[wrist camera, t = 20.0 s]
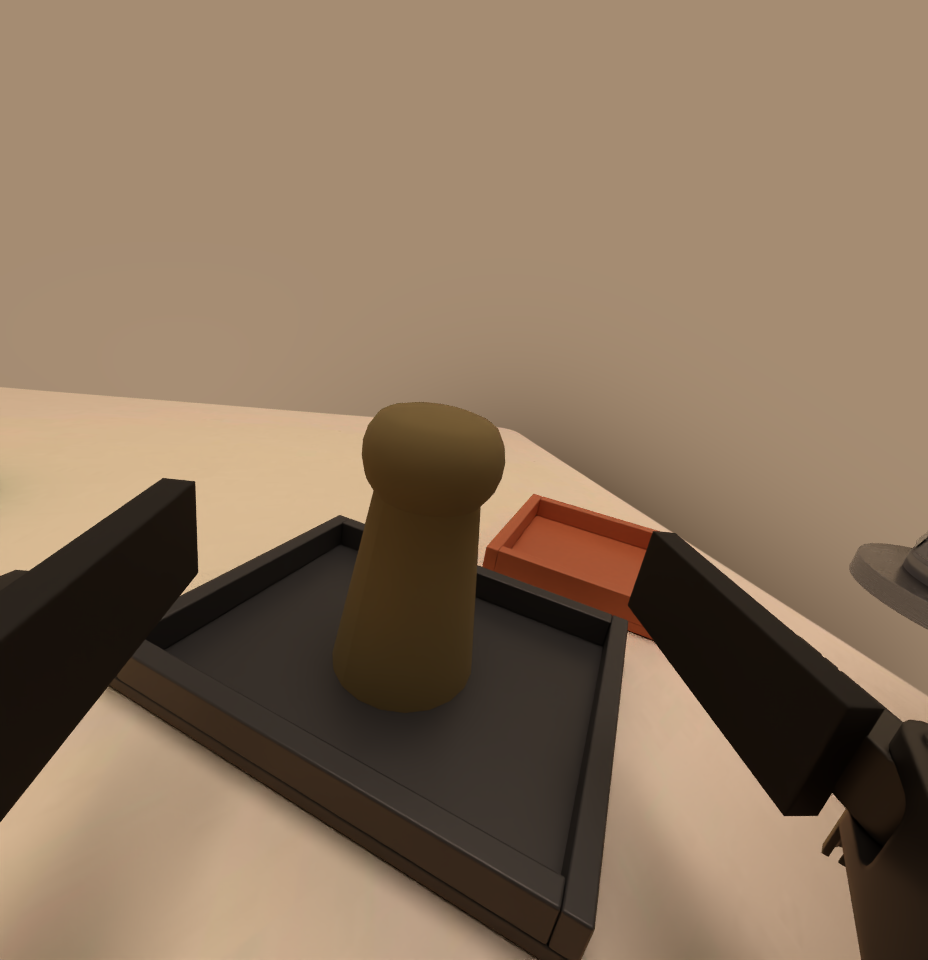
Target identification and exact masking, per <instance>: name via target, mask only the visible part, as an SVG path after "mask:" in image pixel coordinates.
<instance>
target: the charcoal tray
mask: <svg viewBox="0 0 928 960" xmlns="http://www.w3.org/2000/svg"><path fill="white" fill-rule="evenodd" d="M364 527H365V524H363V523H361V522H358V521H355V520H352V519H349V518H347V517H344V516H341V515H339V516H337V517H335V518H333V519H331V520H329V521H327V522H325V523H323V524H321V525H319V526H317V527H315V528H313V529H311V530H309V531H307V532H305V533H303V534H301V535H299V536H297V537H295V538H293V539H291V540H289V541H288V542H286V543H284V544H282V545H280V546H278V547H276V548H274V549H272V550H270V551H268V552H266V553H264V554H262V555H260V556H258V557H256V558H254V559H252V560H250V561H248V562H246V563H244V564H242V565H240V566H238V567H236V568H234V569H232V570H230V571H228V572H226V573H224V574H222V575H221V576H219V577H217V578H215V579H213V580H211V581H209V582H207V583H205V584H203V585H201V586H199V587H197V588H195V589H193V590H191V591H189V592H187V593H185V594H183V595H181V596H179V597H178V599H177V600H176V601H175V602H174V604H173V605H172V606H171V608H170V609H169V610H168V611H167V613H166V614H165V615H164V616H163V618H162V619H161V620H160V621H159V623H158V624H157V625H156V626H155V628H154V629H153V630H152V632H151V633H150V634H149V635H148V637H147V638H146V639H145V640H144V642H143V643H142V644H141V645H140V647H139V648H138V649H137V650H136V652H135V653H134V654H133V655H132V657H131V658H130V659H129V661H128V662H127V663H126V664H125V666H124V667H123V668H122V669H121V671H120V672H119V673H118V674H117V676H116V677H115V678H114V679H113V681H112V682H111V683H110V684H109V685H110V686H111V687H113V688H114V689H116V690H117V691H119V692H121V693H122V694H124V695H125V696H127V697H128V698H130V699H132V700H133V701H135V702H136V703H138V704H139V705H141V706H143V707H144V708H146V709H147V710H149V711H150V712H152V713H154V714H155V715H157V716H158V717H160V718H161V719H163V720H165V721H166V722H168V723H169V724H171V725H172V726H174V727H176V728H177V729H179V730H180V731H182V732H183V733H185V734H187V735H188V736H190V737H191V738H193V739H194V740H196V741H198V742H199V743H201V744H202V745H204V746H205V747H207V748H209V749H210V750H212V751H213V752H215V753H216V754H218V755H220V756H221V757H223V758H224V759H226V760H227V761H229V762H231V763H232V764H234V765H235V766H237V767H238V768H240V769H242V770H243V771H245V772H246V773H248V774H249V775H251V776H253V777H254V778H256V779H257V780H259V781H260V782H262V783H264V784H265V785H267V786H268V787H270V788H271V789H273V790H275V791H276V792H278V793H279V794H281V795H283V796H284V797H286V798H287V799H289V800H290V801H292V802H294V803H295V804H297V805H298V806H300V807H301V808H303V809H305V810H306V811H308V812H309V813H311V814H312V815H314V816H316V817H317V818H319V819H320V820H322V821H323V822H325V823H327V824H328V825H330V826H331V827H333V828H334V829H336V830H338V831H339V832H341V833H342V834H344V835H345V836H347V837H349V838H350V839H352V840H353V841H355V842H356V843H358V844H360V845H361V846H363V847H364V848H366V849H367V850H369V851H371V852H372V853H374V854H375V855H377V856H378V857H380V858H382V859H383V860H385V861H386V862H388V863H389V864H391V865H393V866H394V867H396V868H397V869H399V870H400V871H402V872H404V873H405V874H407V875H408V876H410V877H411V878H413V879H415V880H416V881H418V882H419V883H421V884H422V885H424V886H426V887H427V888H429V889H430V890H432V891H433V892H435V893H437V894H438V895H440V896H441V897H443V898H444V899H446V900H448V901H449V902H451V903H452V904H454V905H455V906H457V907H459V908H460V909H462V910H463V911H465V912H466V913H468V914H470V915H471V916H473V917H474V918H476V919H477V920H479V921H481V922H482V923H484V924H485V925H487V926H488V927H490V928H492V929H493V930H495V931H496V932H498V933H499V934H501V935H503V936H504V937H506V938H507V939H509V940H510V941H512V942H514V943H515V944H517V945H518V946H520V947H521V948H523V949H525V950H526V951H528V952H529V953H531V954H532V955H534V956H536V957H537V958H539V959H540V960H581V959H582V956H583V954H584V952H585V950H586V947H587V945H588V943H589V941H590V938H591V936H592V934H593V932H594V929H595V921H596V912H597V903H598V894H599V884H600V875H601V866H602V857H603V848H604V839H605V830H606V821H607V812H608V803H609V794H610V785H611V776H612V766H613V757H614V748H615V739H616V730H617V721H618V712H619V703H620V694H621V685H622V676H623V667H624V658H625V649H626V639H627V630H628V620H625V619H623V618H620V617H617V616H615V615H613V616H612V615H611V614H609V613H607V612H604V611H601V610H598V609H596V608H593V607H590V606H587V605H585V604H582V603H579V602H576V601H574V600H571V599H568V598H566V597H563V596H560V595H557V594H555V593H552V592H549V591H546V590H544V589H541V588H538V587H535V586H533V585H530V584H527V583H525V582H522V581H519V580H516V579H514V578H511V577H508V576H505V575H503V574H500V573H497V572H494V571H492V570H489V569H486V568H484V567H481V566H478V565H477V577H476V594H475V612H474V629H473V647H472V664H471V674H470V676H469V678H468V681H467V683H466V685H465V687H464V689H463V690H461V691H460V692H459V693H458V694H457V695H456V696H455V697H454V698H453V699H452V700H451V701H449V702H447V703H444V704H442V705H440V706H438V707H435V708H433V709H431V710H425V711H417V712H409V713H401V712H394V711H387V710H380V709H378V708H375V707H373V706H371V705H368V704H366V703H364V702H362V701H359V700H357V699H356V698H355V697H354V696H353V695H352V694H351V693H349V692H348V691H347V690H346V689H345V688H344V687H343V686H342V685H341V683H340V682H339V680H338V678H337V676H336V674H335V672H334V670H333V655H332V652H333V648H334V644H335V641H336V637H337V633H338V629H339V625H340V621H341V617H342V613H343V609H344V605H345V601H346V597H347V593H348V589H349V586H350V582H351V578H352V574H353V570H354V566H355V562H356V558H357V554H358V550H359V546H360V542H361V538H362V534H363V531H364Z"/></svg>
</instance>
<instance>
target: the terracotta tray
mask: <svg viewBox="0 0 928 960" xmlns="http://www.w3.org/2000/svg"><path fill="white" fill-rule="evenodd" d="M653 531H657V530H653V529H650V528H647V527H643V526H640V525H636V524H633V523H630V522H626V521H623V520H620V519H616V518H613V517H610V516H606V515H603V514H600V513H596V512H593V511H590V510H586V509H583V508H580V507H576V506H573V505H569V504H566V503H563V502H559V501H556V500H553V499H549V498H546V497H542V496H539V495H536V494H533V495H532V496H531V497H530V498H529V500H528V501H527V502H526V503H525V504H524V505H523V506H522V507H521V509H520V510H519V511H518V512H517V513H516V514H515V515H514V516H513V518H512V519H511V520H510V521H509V522H508V523H507V524H506V525H505V527H504V528H503V529H502V530H501V531H500V532H499V533H498V534H497V536H496V537H495V538H494V539H493V540H492V541H491V542H490V543H489V545H488V546H487V547H486V552H485V557H484V561H483V567H484V568H486V569H489V570H492V571H494V572H497V573H500V574H503V575H505V576H508V577H511V578H514V579H516V580H519V581H522V582H525V583H527V584H530V585H533V586H535V587H538V588H541V589H544V590H546V591H549V592H552V593H555V594H557V595H560V596H563V597H566V598H568V599H571V600H574V601H576V602H579V603H582V604H585V605H587V606H590V607H593V608H596V609H598V610H601V611H604V612H607V613H609V614H611V615H612V616H613V615H615V616H617V617H620V618H623V619H625V620H628V631H631V632H633V633H636V634H639V635H642V636H644V637H647V638H650V639H652V638H651V636H650V635H649V634H648V632H647V631H646V630H645V628H644V627H643V626H642V624H641V623H640V622H639V620H638V619H637V618H636V616H635V615H634V614H633V612H632V611H631V610H630V608H629V607H628V602H629V599H630V596H631V593H632V590H633V587H634V584H635V582H636V579H637V576H638V573H639V570H640V567H641V564H642V561H643V558H644V556H645V553H646V550H647V547H648V544H649V541H650V538H651V535H652V532H653ZM659 532H660V531H659ZM652 640H653V639H652Z"/></svg>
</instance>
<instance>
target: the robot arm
mask: <svg viewBox="0 0 928 960" xmlns="http://www.w3.org/2000/svg"><path fill="white" fill-rule="evenodd" d="M903 566H904V568H905V569H906V570H907V571H908V572H909V573H910V574H911V575H912V576H913V577H914V578H916V579H917V580H919V581H920V582H922V583H923V584H925V585H926V586H928V532H926V533H925V534H924V535H923V536H921V537H920V538H919V539H918V540H917V541H916V545H915V546H914V547H913V548H912V549H911V550H910V552H909V554H908V555H907V557H906V559H905V561H904V562H903ZM197 573H198V551H197V521H196V491H195V481H186V480H176V479H167V478H162V479H161V480H160V481H158V482H157V483H155V484H154V485H152V486H151V487H149V488H148V489H147V490H145V491H144V492H142V493H141V494H139V495H138V496H136V497H135V498H134V499H132V500H131V501H129V502H128V503H126V504H125V505H123V506H122V507H121V508H119V509H118V510H116V511H115V512H113V513H112V514H110V515H109V516H108V517H106V518H105V519H103V520H102V521H100V522H99V523H97V524H96V525H95V526H93V527H92V528H90V529H89V530H87V531H86V532H84V533H83V534H82V535H80V536H79V537H77V538H76V539H74V540H73V541H71V542H70V543H69V544H67V545H66V546H64V547H63V548H61V549H60V550H58V551H57V552H56V553H54V554H53V555H51V556H50V557H48V558H47V559H45V560H44V561H43V562H41V563H40V564H38V565H37V566H35V567H34V568H32V569H31V570H30V571H23V570H14V571H12V572H9V573H7V574H4V575H2V576H0V822H1V821H2V819H3V818H4V817H5V816H6V814H7V813H8V812H9V811H10V809H11V808H12V807H13V806H14V804H15V803H16V802H17V801H18V799H19V798H20V797H21V795H22V794H23V793H24V792H25V790H26V789H27V788H28V787H29V785H30V784H31V783H32V782H33V780H34V779H35V778H36V777H37V775H38V774H39V773H40V772H41V770H42V769H43V768H44V766H45V765H46V764H47V763H48V761H49V760H50V759H51V758H52V756H53V755H54V754H55V753H56V751H57V750H58V749H59V748H60V746H61V745H62V744H63V743H64V741H65V740H66V739H67V737H68V736H69V735H70V734H71V732H72V731H73V730H74V729H75V727H76V726H77V725H78V724H79V722H80V721H81V720H82V719H83V717H84V716H85V715H86V714H87V712H88V711H89V710H90V708H91V707H92V706H93V705H94V703H95V702H96V701H97V700H98V698H99V697H100V696H101V695H102V693H103V692H104V691H105V690H106V688H107V687H108V686H109V684H110V683H111V682H112V681H113V679H114V678H115V677H116V676H117V674H118V673H119V672H120V671H121V669H122V668H123V667H124V666H125V664H126V663H127V662H128V661H129V659H130V658H131V657H132V655H133V654H134V653H135V652H136V650H137V649H138V648H139V647H140V645H141V644H142V643H143V642H144V640H145V639H146V638H147V637H148V635H149V634H150V633H151V632H152V630H153V629H154V628H155V626H156V625H157V624H158V623H159V621H160V620H161V619H162V618H163V616H164V615H165V614H166V613H167V611H168V610H169V609H170V608H171V606H172V605H173V604H174V602H175V601H176V600H177V599H178V597H179V596H180V595H181V594H182V592H183V591H184V590H185V589H186V587H187V586H188V585H189V584H190V582H191V581H192V580H193V579H194V577H195V576H196V575H197ZM628 607H629V608H630V610H631V611H632V612H633V614H634V615H635V616H636V618H637V619H638V620H639V622H640V623H641V624H642V626H643V627H644V628H645V630H646V631H647V632H648V634H649V635H650V636H651V638H652V639H653V640H654V642H655V643H656V645H657V646H658V647H659V649H660V650H661V651H662V653H663V654H664V655H665V657H666V658H667V659H668V661H669V662H670V663H671V665H672V666H673V667H674V669H675V670H676V671H677V673H678V674H679V675H680V677H681V678H682V680H683V681H684V682H685V684H686V685H687V686H688V688H689V689H690V690H691V692H692V693H693V694H694V696H695V697H696V698H697V700H698V701H699V702H700V704H701V705H702V706H703V708H704V709H705V710H706V712H707V713H708V715H709V716H710V717H711V719H712V720H713V721H714V723H715V724H716V725H717V727H718V728H719V729H720V731H721V732H722V733H723V735H724V736H725V737H726V739H727V740H728V741H729V743H730V744H731V745H732V747H733V748H734V750H735V751H736V752H737V754H738V755H739V756H740V758H741V759H742V760H743V762H744V763H745V764H746V766H747V767H748V768H749V770H750V771H751V772H752V774H753V775H754V776H755V778H756V779H757V780H758V782H759V783H760V785H761V786H762V787H763V789H764V790H765V791H766V793H767V794H768V795H769V797H770V798H771V799H772V801H773V802H774V803H775V805H776V806H777V807H778V809H779V810H780V811H781V813H782V814H783V815H784V816H818V814H819V813H820V811H821V810H822V808H823V806H824V805H825V803H826V802H827V800H828V799H829V797H830V795H831V794H832V793H833V794H834V795H835V796H836V798H837V799H838V800H839V801H840V802H841V803H842V804H843V805H844V807H845V808H846V810H845V811H844V813H843V814H842V816H841V817H840V819H839V820H838V822H837V823H836V825H835V826H834V828H833V829H832V831H831V833H830V834H829V836H828V837H827V839H826V840H825V842H824V843H823V846H822V852H821V853H823V854H824V855H826V856H828V857H829V855H830V854H831V852H832V851H833V849H834V848H835V847H838V846H839V847H842V848H843V855H842V857H841V858H840V860H839V862H838V863H840V864H841V865H843V866H845V867H846V872H847V877H848V883H849V889H850V895H851V901H852V907H853V913H854V919H855V925H856V931H857V937H858V943H859V949H860V955H861V960H928V723H925V722H922V721H916V720H908V721H905V722H902V721H901V720H900V719H899V718H897V717H896V716H895V715H894V714H893V713H891V712H890V711H889V710H888V709H887V708H885V707H884V706H883V705H882V704H881V703H879V702H878V701H877V700H876V699H875V698H873V697H872V696H871V695H870V694H869V693H867V692H866V691H865V690H864V689H863V688H861V687H860V686H859V685H858V684H857V683H855V682H854V681H853V680H852V679H851V678H849V677H848V676H847V675H846V674H845V673H843V672H842V671H839V670H838V668H837V667H836V666H835V665H834V664H833V663H831V662H830V661H829V660H828V659H827V658H824V657H823V656H822V654H821V653H819V652H818V651H817V650H816V649H815V648H813V647H812V646H811V645H810V644H809V643H807V642H806V641H805V640H804V639H803V638H801V637H799V636H798V635H796V634H795V633H794V632H793V631H792V630H790V629H789V628H788V627H787V626H786V625H784V624H783V623H782V622H781V621H780V620H778V619H777V618H776V617H775V616H774V615H772V614H771V613H770V612H769V611H768V610H767V609H765V608H764V607H763V606H762V605H761V604H759V603H758V602H757V601H756V600H755V599H753V598H752V597H751V596H750V595H749V594H747V593H746V592H745V591H744V590H743V589H741V588H740V587H739V586H738V585H737V584H735V583H734V582H733V581H732V580H731V579H729V578H728V577H727V576H726V575H725V574H723V573H722V572H721V571H720V570H719V569H717V568H716V567H715V566H714V565H713V564H712V563H710V562H709V561H708V560H707V559H706V558H704V557H703V556H702V555H701V554H700V553H698V552H697V551H696V550H695V549H694V548H692V547H691V546H690V545H689V544H688V543H686V542H685V541H684V540H683V539H682V538H680V537H679V536H678V535H677V534H676V533H669V532H659V531H653V532H652V535H651V538H650V541H649V544H648V547H647V550H646V553H645V556H644V558H643V561H642V564H641V567H640V570H639V573H638V576H637V579H636V582H635V584H634V587H633V590H632V593H631V596H630V599H629V602H628Z"/></svg>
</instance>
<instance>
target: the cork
mask: <svg viewBox="0 0 928 960" xmlns="http://www.w3.org/2000/svg"><path fill="white" fill-rule="evenodd" d="M362 459H363V465H364V471H365V475H366V478H367V480H368V482H369V484H370V485H371V487H372V488H373V490H374V491H373V495H372V499H371V503H370V507H369V511H368V515H367V519H366V523H365V527H364V531H363V534H362V538H361V542H360V546H359V550H358V554H357V558H356V562H355V566H354V570H353V574H352V578H351V582H350V586H349V589H348V593H347V597H346V601H345V605H344V609H343V613H342V617H341V621H340V625H339V629H338V633H337V637H336V641H335V644H334V648H333V652H332V655H333V670H334V672H335V674H336V676H337V678H338V680H339V682H340V683H341V685H342V686H343V687H344V688H345V689H346V690H347V691H348V692H349V693H351V694H352V695H353V696H354V697H355V698H356V699H357V700H359V701H362V702H364V703H366V704H368V705H371V706H373V707H375V708H378V709H380V710H387V711H394V712H401V713H409V712H417V711H425V710H431V709H433V708H435V707H438V706H440V705H442V704H444V703H447V702H449V701H451V700H452V699H453V698H454V697H455V696H456V695H457V694H458V693H459V692H460V691H461V690H463V689H464V687H465V685H466V683H467V681H468V678H469V676H470V674H471V664H472V647H473V629H474V612H475V594H476V577H477V559H478V542H479V524H480V507H481V506H482V505H483V504H484V503H485V502H486V501H487V500H488V499H489V498H490V497H491V496H492V495H493V494H494V492H495V490H496V489H497V487H498V485H499V483H500V481H501V479H502V475H503V470H504V466H505V448H504V444H503V441H502V438H501V435H500V432H499V430H498V428H497V427H495V426H494V425H493V424H492V423H491V422H490V421H488V420H487V419H486V418H483V417H481V416H479V415H477V414H474V413H472V412H469V411H467V410H464V409H460V408H457V407H453V406H449V405H444V404H437V403H427V402H412V403H397V404H394V405H390V406H388V407H385V408H383V409H381V410H380V411H379V412H378V413H377V415H376V416H375V417H374V418H373V420H372V421H371V422H370V423H369V425H368V427H367V430H366V433H365V435H364V438H363V447H362Z"/></svg>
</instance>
